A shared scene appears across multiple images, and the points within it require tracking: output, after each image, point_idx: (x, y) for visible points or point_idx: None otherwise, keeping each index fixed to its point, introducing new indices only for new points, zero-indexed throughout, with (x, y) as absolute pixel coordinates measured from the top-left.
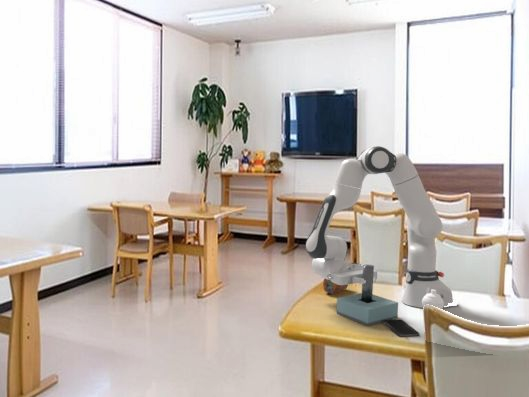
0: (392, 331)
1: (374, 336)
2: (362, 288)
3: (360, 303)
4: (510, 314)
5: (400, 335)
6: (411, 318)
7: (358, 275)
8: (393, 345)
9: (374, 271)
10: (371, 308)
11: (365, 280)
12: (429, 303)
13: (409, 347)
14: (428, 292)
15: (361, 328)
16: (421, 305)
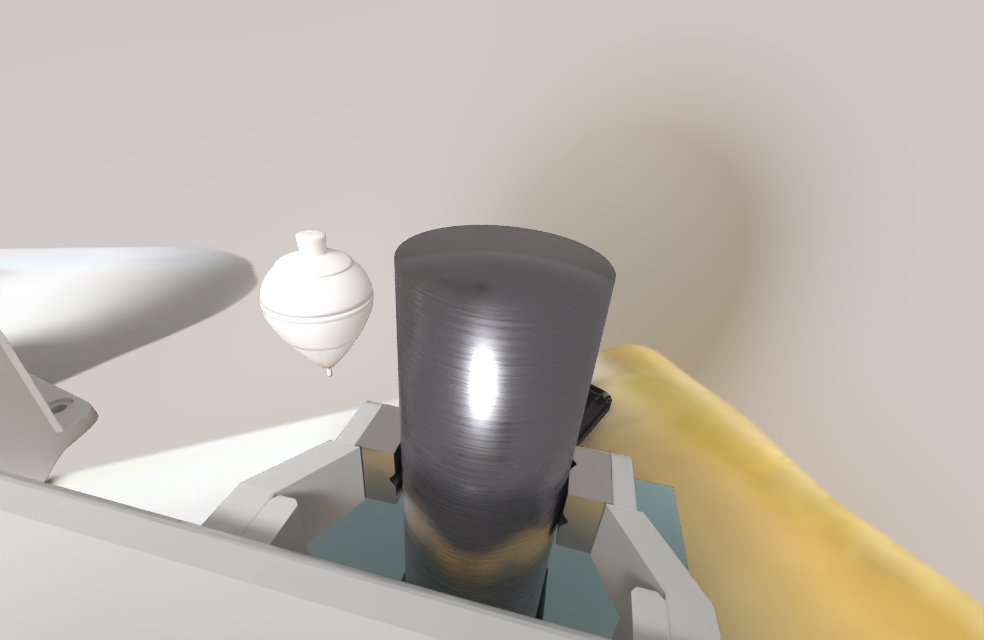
0: (584, 438)
1: (715, 467)
2: (540, 586)
3: (619, 618)
4: (103, 262)
5: (607, 397)
6: (323, 442)
7: (507, 617)
8: (701, 391)
9: (3, 477)
10: (635, 482)
11: (578, 449)
12: (372, 290)
13: (658, 360)
14: (12, 351)
15: (711, 569)
16: (48, 450)
